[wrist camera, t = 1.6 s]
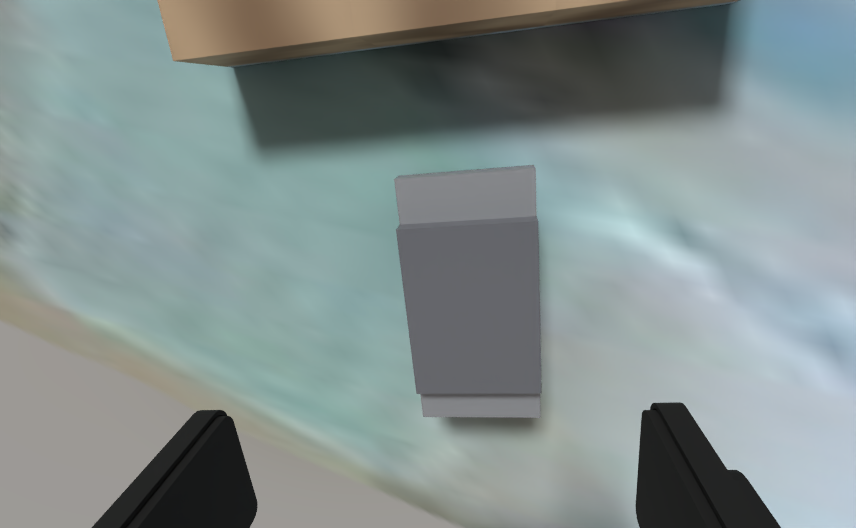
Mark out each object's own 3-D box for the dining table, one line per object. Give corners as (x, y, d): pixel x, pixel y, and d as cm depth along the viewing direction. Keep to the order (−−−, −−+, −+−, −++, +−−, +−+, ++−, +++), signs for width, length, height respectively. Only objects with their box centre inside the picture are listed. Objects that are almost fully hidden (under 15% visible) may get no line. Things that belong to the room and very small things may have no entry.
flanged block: (526, 153, 20) (537, 171, 15) (532, 362, 23) (542, 429, 19) (413, 163, 21) (390, 182, 16) (435, 363, 24) (420, 427, 19)
